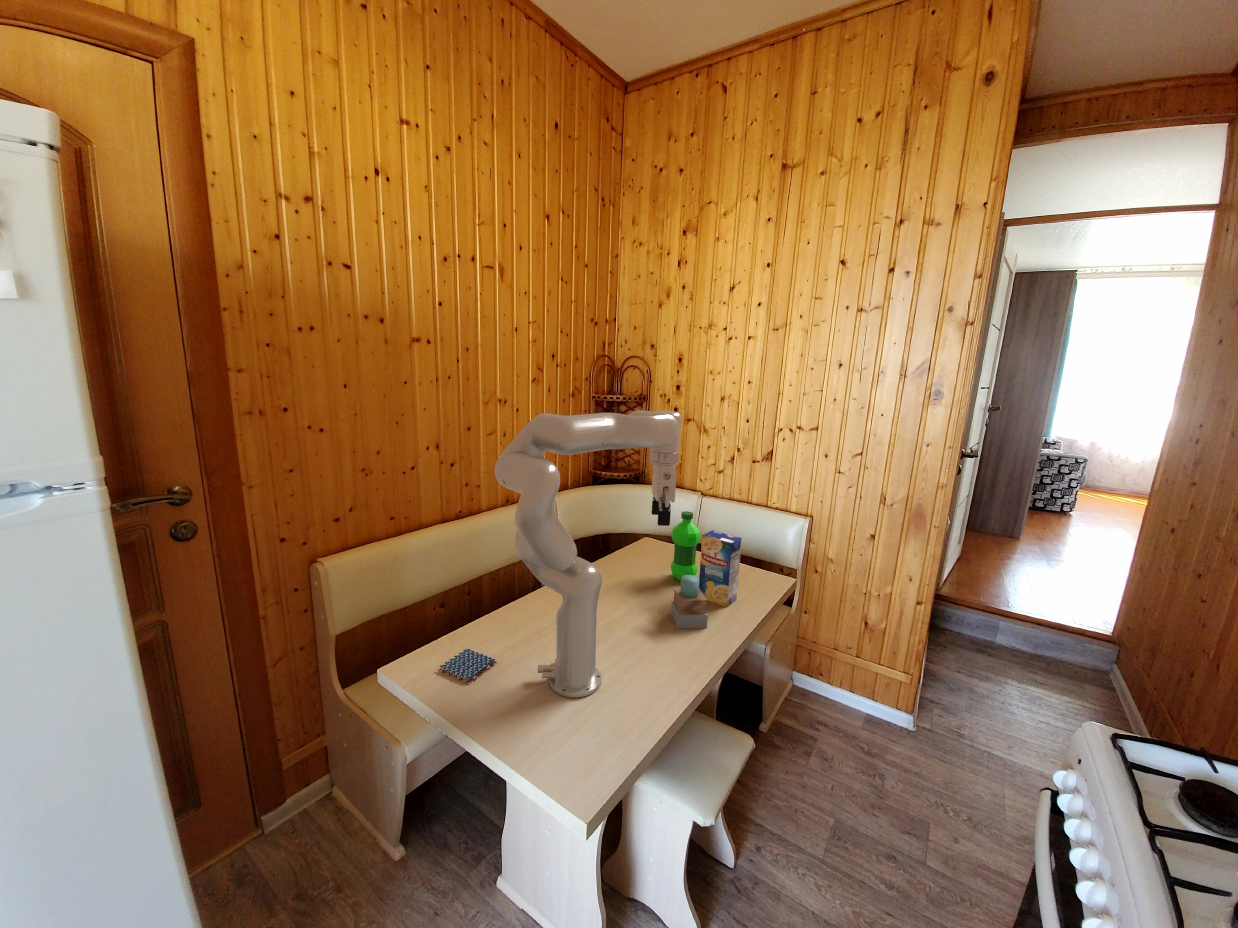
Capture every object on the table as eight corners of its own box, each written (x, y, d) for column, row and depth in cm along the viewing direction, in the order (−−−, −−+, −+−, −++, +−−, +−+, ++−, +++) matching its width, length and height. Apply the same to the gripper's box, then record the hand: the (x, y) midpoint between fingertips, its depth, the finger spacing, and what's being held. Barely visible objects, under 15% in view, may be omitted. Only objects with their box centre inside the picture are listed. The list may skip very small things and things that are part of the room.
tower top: (679, 614, 147) (680, 600, 146) (673, 601, 154) (674, 588, 154) (705, 613, 148) (706, 599, 147) (698, 601, 155) (699, 587, 155)
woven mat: (469, 687, 118) (469, 679, 118) (437, 673, 123) (437, 666, 123) (498, 664, 127) (498, 657, 127) (468, 652, 132) (468, 646, 132)
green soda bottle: (664, 573, 185) (668, 509, 180) (690, 571, 188) (694, 508, 183) (675, 585, 175) (679, 518, 170) (702, 582, 178) (707, 516, 173)
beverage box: (726, 607, 161) (732, 543, 156) (697, 596, 168) (701, 534, 163) (736, 600, 166) (741, 537, 161) (708, 589, 173) (712, 530, 168)
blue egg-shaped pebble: (682, 598, 147) (683, 582, 146) (678, 590, 153) (679, 574, 152) (700, 597, 148) (701, 582, 147) (695, 589, 153) (696, 574, 152)
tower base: (677, 629, 147) (678, 615, 146) (671, 614, 156) (672, 601, 155) (706, 628, 148) (707, 615, 147) (699, 613, 157) (700, 600, 156)
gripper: (685, 464, 123) (680, 530, 126) (671, 452, 140) (667, 511, 143) (655, 463, 122) (651, 529, 125) (645, 452, 139) (642, 510, 142)
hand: (660, 519), depth 134 cm, fingers open, 9 cm apart
